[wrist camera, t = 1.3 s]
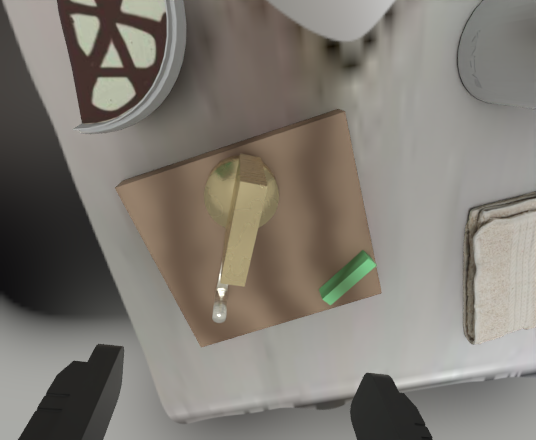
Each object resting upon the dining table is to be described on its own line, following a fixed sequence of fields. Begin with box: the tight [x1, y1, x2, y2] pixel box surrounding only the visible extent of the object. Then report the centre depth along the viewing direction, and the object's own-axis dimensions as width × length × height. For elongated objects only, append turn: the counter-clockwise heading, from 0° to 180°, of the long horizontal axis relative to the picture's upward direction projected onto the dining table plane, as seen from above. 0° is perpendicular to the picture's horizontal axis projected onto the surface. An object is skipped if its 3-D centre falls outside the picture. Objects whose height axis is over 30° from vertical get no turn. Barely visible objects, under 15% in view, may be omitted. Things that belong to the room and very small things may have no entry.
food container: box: [57, 0, 186, 134], centre depth 21 cm, size 12×6×10 cm, turn 178°
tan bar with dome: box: [204, 154, 279, 323], centre depth 26 cm, size 15×6×9 cm, turn 168°
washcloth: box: [463, 192, 536, 345], centre depth 36 cm, size 12×18×3 cm, turn 15°
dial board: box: [115, 109, 382, 347], centre depth 31 cm, size 20×19×4 cm
